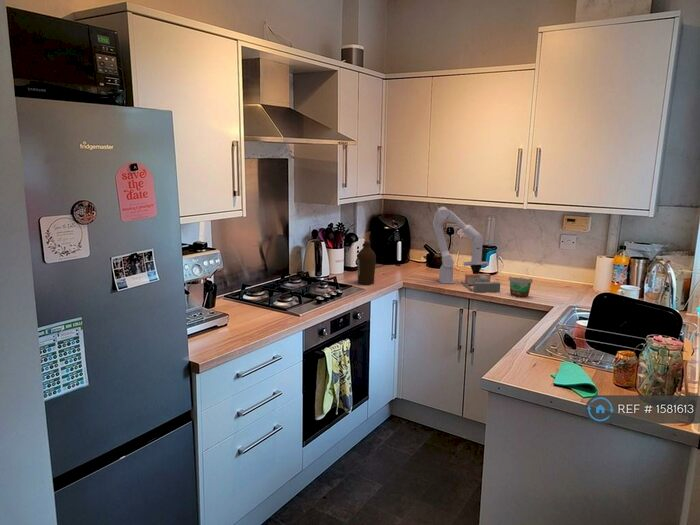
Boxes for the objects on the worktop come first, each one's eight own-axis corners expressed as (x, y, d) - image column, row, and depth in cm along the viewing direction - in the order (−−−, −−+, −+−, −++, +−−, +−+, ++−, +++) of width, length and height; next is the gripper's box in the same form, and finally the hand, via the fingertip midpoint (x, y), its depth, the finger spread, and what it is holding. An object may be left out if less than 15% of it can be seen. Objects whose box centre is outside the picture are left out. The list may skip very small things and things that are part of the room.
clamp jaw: (464, 284, 295) (465, 273, 294) (488, 283, 297) (488, 273, 295) (466, 285, 292) (467, 275, 291) (490, 285, 293) (490, 275, 292)
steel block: (475, 287, 290) (476, 275, 288) (484, 287, 290) (485, 275, 289) (478, 289, 285) (479, 277, 283) (487, 289, 285) (488, 277, 284)
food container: (505, 295, 272) (506, 277, 270) (507, 293, 278) (509, 275, 276) (529, 299, 267) (531, 280, 265) (531, 296, 272) (532, 278, 270)
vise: (461, 283, 297) (461, 275, 296) (488, 283, 299) (489, 275, 298) (472, 292, 278) (473, 283, 277) (501, 292, 280) (502, 283, 279)
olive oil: (375, 281, 299) (376, 239, 294) (374, 285, 289) (375, 242, 283) (357, 280, 300) (358, 238, 295) (356, 285, 289) (356, 241, 284)
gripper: (466, 256, 290) (465, 279, 293) (491, 256, 292) (489, 279, 295) (462, 253, 297) (461, 276, 300) (486, 253, 299) (485, 276, 301)
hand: (475, 277), depth 298 cm, fingers closed
